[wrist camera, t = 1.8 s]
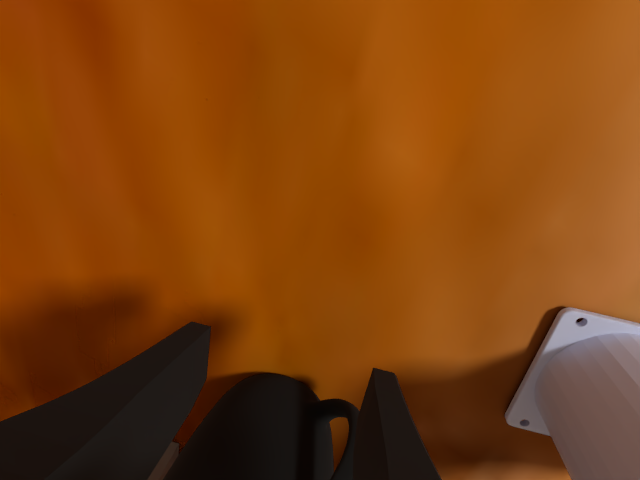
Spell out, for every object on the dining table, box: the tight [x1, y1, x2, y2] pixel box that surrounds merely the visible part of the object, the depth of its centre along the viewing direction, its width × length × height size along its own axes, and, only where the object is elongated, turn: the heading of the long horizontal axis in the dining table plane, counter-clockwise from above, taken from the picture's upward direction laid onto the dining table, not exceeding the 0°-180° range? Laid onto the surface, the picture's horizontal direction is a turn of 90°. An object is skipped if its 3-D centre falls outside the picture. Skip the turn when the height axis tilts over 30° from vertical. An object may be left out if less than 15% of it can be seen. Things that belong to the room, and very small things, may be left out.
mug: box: [163, 374, 360, 480], centre depth 20 cm, size 12×9×10 cm
